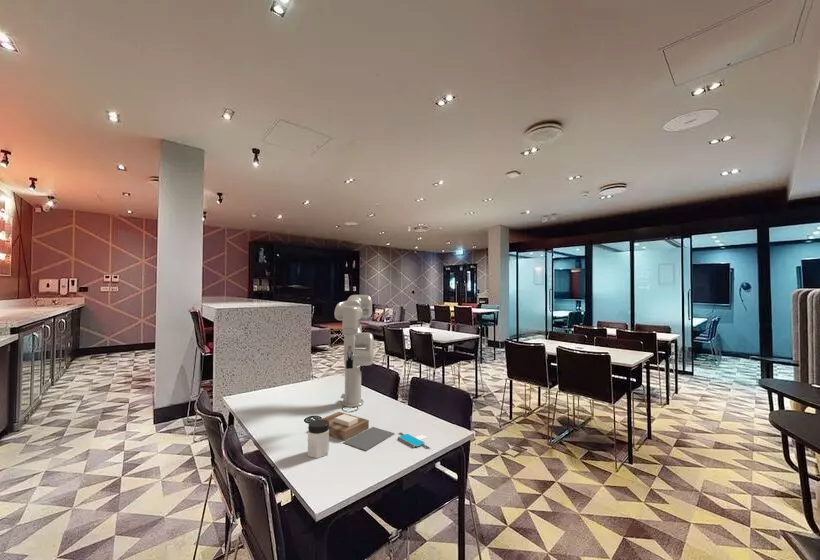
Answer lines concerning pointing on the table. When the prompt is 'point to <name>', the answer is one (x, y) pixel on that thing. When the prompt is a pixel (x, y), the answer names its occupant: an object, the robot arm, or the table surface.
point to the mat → (368, 438)
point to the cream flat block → (346, 420)
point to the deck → (345, 427)
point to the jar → (318, 438)
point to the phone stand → (412, 440)
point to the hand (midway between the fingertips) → (349, 366)
